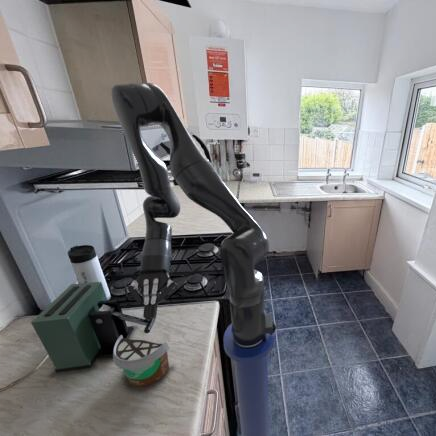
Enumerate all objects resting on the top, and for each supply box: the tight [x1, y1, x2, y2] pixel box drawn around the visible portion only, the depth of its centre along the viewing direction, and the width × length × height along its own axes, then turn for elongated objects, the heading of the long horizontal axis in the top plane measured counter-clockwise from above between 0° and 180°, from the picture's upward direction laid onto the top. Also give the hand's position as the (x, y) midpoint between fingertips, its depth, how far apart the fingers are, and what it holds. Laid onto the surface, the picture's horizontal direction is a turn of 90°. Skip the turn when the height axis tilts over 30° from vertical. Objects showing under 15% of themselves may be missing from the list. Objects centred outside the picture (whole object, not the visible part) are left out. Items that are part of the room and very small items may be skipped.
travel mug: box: [67, 244, 112, 300], centre depth 75 cm, size 6×7×20 cm
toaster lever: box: [98, 304, 157, 334], centre depth 61 cm, size 13×5×2 cm, turn 101°
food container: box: [112, 335, 170, 389], centre depth 53 cm, size 12×6×10 cm, turn 82°
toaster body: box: [30, 282, 107, 373], centre depth 60 cm, size 7×13×16 cm, turn 10°
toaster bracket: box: [88, 298, 135, 360], centre depth 61 cm, size 5×9×13 cm, turn 10°
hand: (149, 319), depth 63 cm, fingers closed
